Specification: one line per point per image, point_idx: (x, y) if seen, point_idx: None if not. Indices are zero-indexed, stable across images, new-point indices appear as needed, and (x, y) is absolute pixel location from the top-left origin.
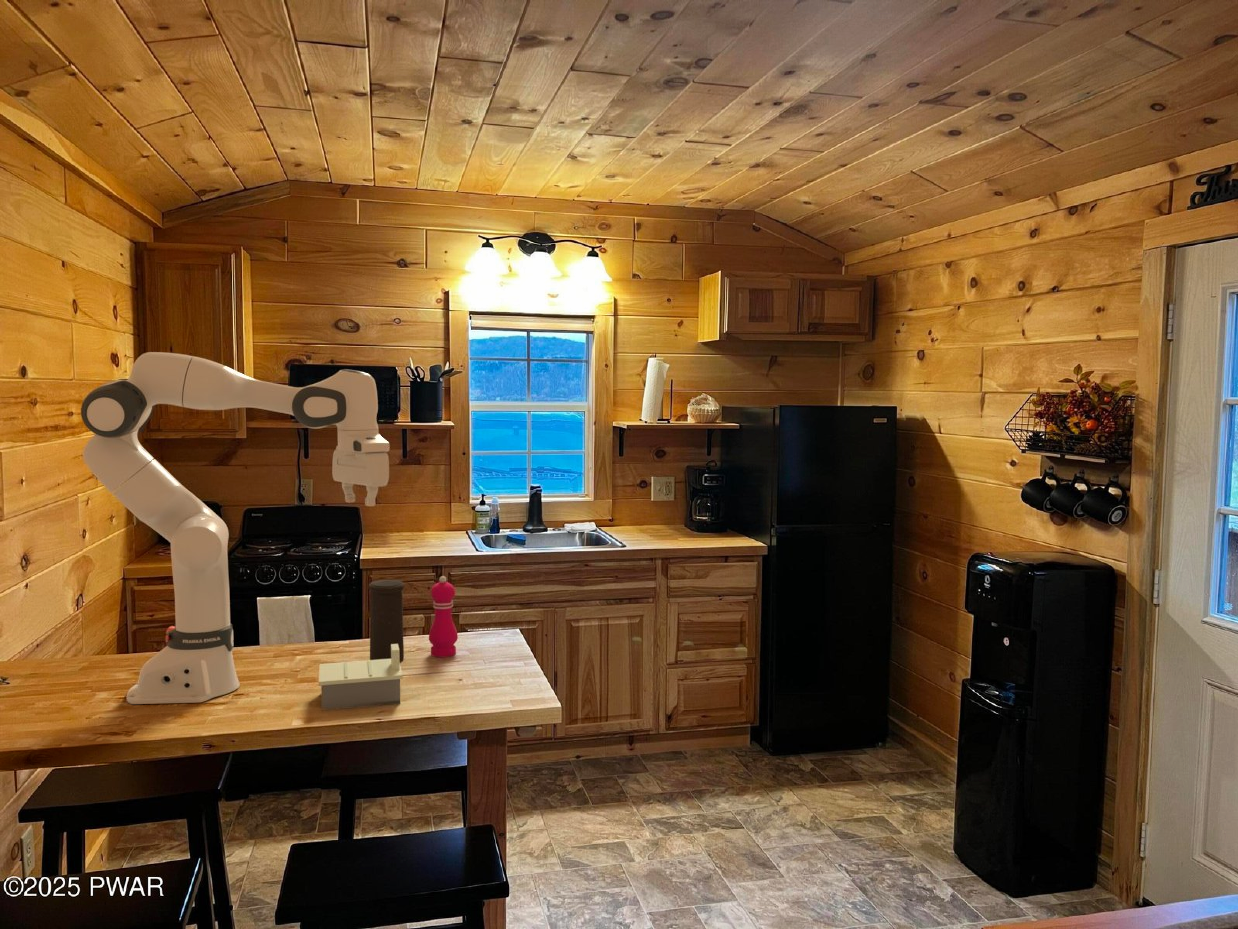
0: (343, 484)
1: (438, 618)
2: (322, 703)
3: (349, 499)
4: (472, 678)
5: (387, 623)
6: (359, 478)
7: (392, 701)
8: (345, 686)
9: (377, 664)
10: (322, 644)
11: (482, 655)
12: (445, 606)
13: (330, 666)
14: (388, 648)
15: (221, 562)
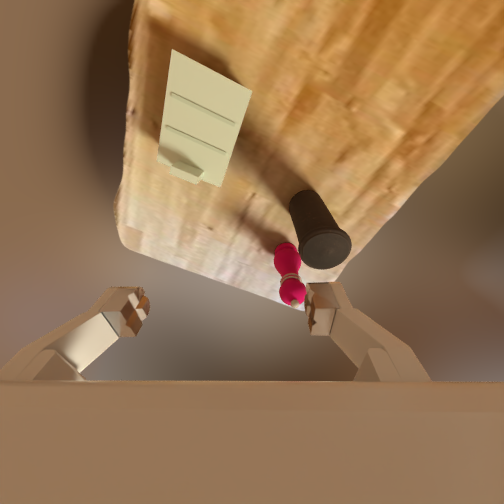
0: (392, 366)
1: (286, 268)
2: None
3: (310, 295)
4: (208, 236)
5: (297, 219)
6: (8, 448)
7: None
8: None
9: (209, 156)
10: (415, 178)
11: (260, 270)
12: (281, 280)
13: (232, 99)
14: (292, 207)
15: None
